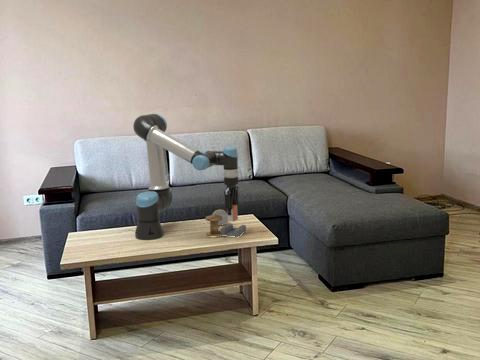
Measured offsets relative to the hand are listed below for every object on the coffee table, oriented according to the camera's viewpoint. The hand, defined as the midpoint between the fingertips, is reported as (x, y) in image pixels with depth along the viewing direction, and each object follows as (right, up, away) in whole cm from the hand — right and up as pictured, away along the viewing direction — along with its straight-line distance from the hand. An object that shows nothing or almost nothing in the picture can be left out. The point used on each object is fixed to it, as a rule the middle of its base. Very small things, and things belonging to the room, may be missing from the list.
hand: (232, 219), depth 269 cm
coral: (-7, -5, +22) cm, 24 cm away
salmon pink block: (0, 0, 0) cm, 0 cm away
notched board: (+1, -8, +3) cm, 9 cm away
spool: (-10, -9, +2) cm, 13 cm away
